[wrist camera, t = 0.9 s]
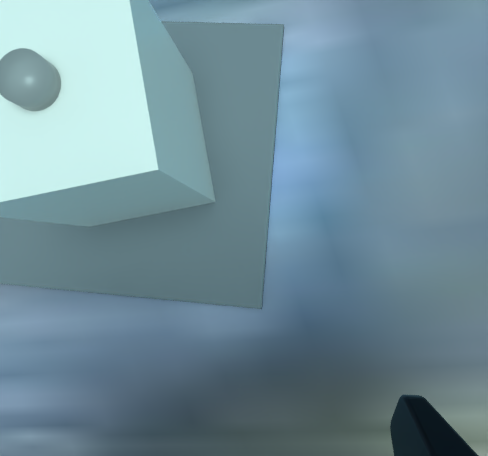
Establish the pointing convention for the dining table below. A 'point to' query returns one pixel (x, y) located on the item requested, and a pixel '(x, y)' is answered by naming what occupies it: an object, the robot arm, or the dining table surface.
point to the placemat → (187, 219)
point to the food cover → (96, 114)
